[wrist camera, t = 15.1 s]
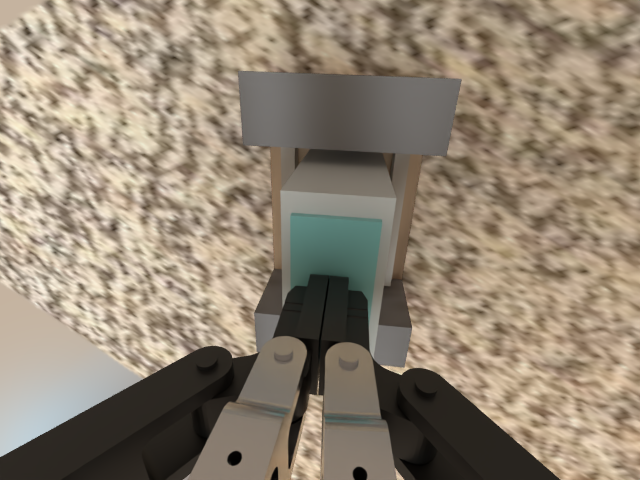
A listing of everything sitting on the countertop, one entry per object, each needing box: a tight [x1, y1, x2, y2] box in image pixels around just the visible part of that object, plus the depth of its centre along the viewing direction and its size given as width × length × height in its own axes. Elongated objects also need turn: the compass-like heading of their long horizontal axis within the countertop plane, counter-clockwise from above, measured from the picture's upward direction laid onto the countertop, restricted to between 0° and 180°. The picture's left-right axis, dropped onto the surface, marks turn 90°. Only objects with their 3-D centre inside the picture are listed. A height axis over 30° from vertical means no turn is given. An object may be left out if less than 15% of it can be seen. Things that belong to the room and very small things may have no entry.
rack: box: [238, 71, 461, 367], centre depth 20 cm, size 9×16×6 cm, turn 178°
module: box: [280, 149, 396, 358], centre depth 17 cm, size 4×8×9 cm, turn 178°
